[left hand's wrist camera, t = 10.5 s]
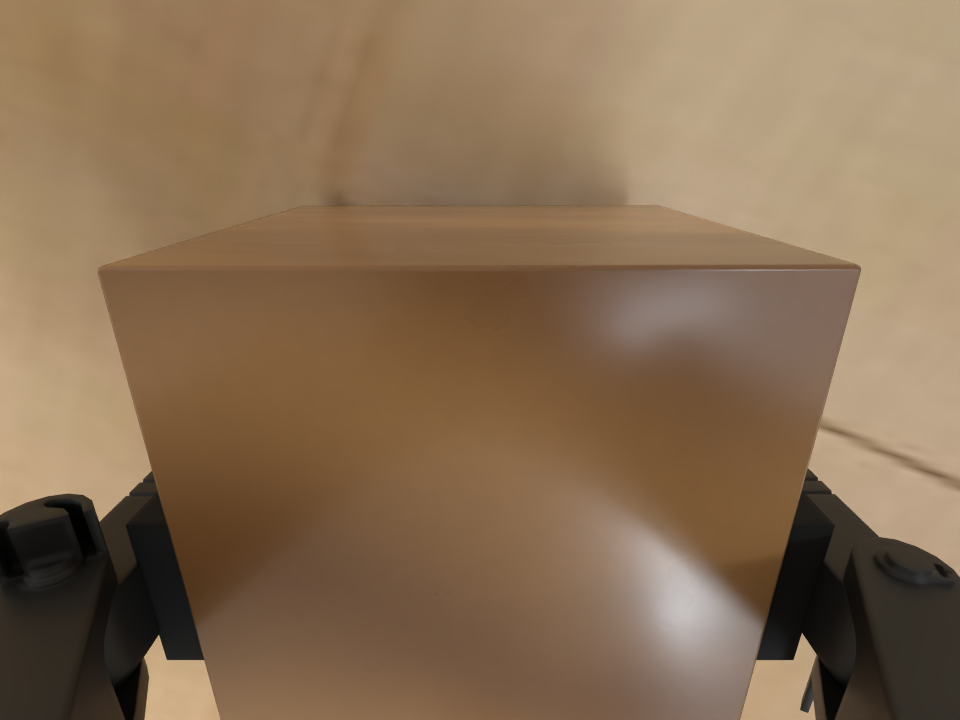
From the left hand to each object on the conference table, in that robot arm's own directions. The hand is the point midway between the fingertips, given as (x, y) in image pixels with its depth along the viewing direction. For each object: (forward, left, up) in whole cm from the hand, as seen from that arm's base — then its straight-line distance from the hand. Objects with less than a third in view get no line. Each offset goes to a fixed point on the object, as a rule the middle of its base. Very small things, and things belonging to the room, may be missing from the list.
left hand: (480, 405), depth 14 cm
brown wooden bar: (+11, +20, -1) cm, 23 cm away
